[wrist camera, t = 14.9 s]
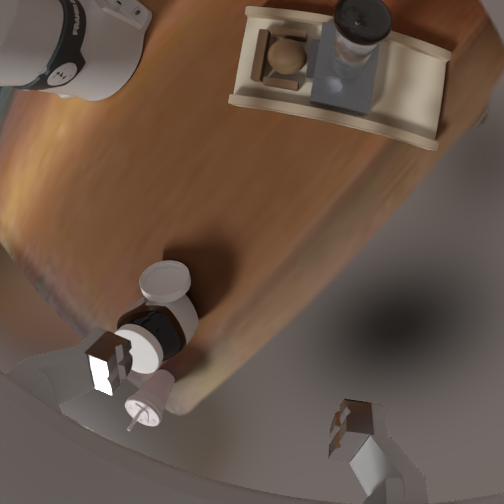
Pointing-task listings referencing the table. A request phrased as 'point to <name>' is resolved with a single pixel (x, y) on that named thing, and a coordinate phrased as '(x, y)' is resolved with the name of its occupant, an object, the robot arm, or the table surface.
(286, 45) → the walnut
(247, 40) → the press base
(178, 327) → the spread jar
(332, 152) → the table surface
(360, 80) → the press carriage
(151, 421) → the smoothie
